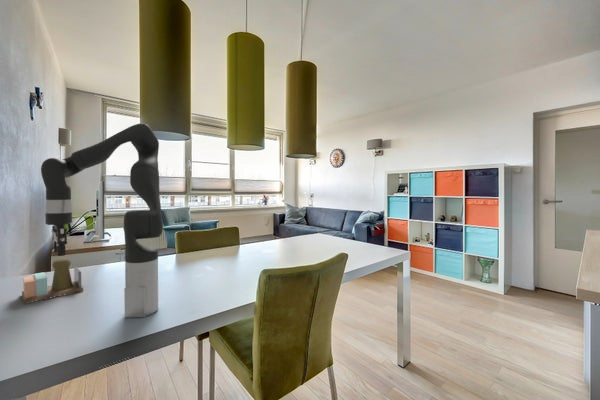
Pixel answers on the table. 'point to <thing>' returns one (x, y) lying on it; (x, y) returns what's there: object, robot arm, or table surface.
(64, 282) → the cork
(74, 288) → the shelf board
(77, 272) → the bookend
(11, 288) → the table surface
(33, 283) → the books
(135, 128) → the robot arm
